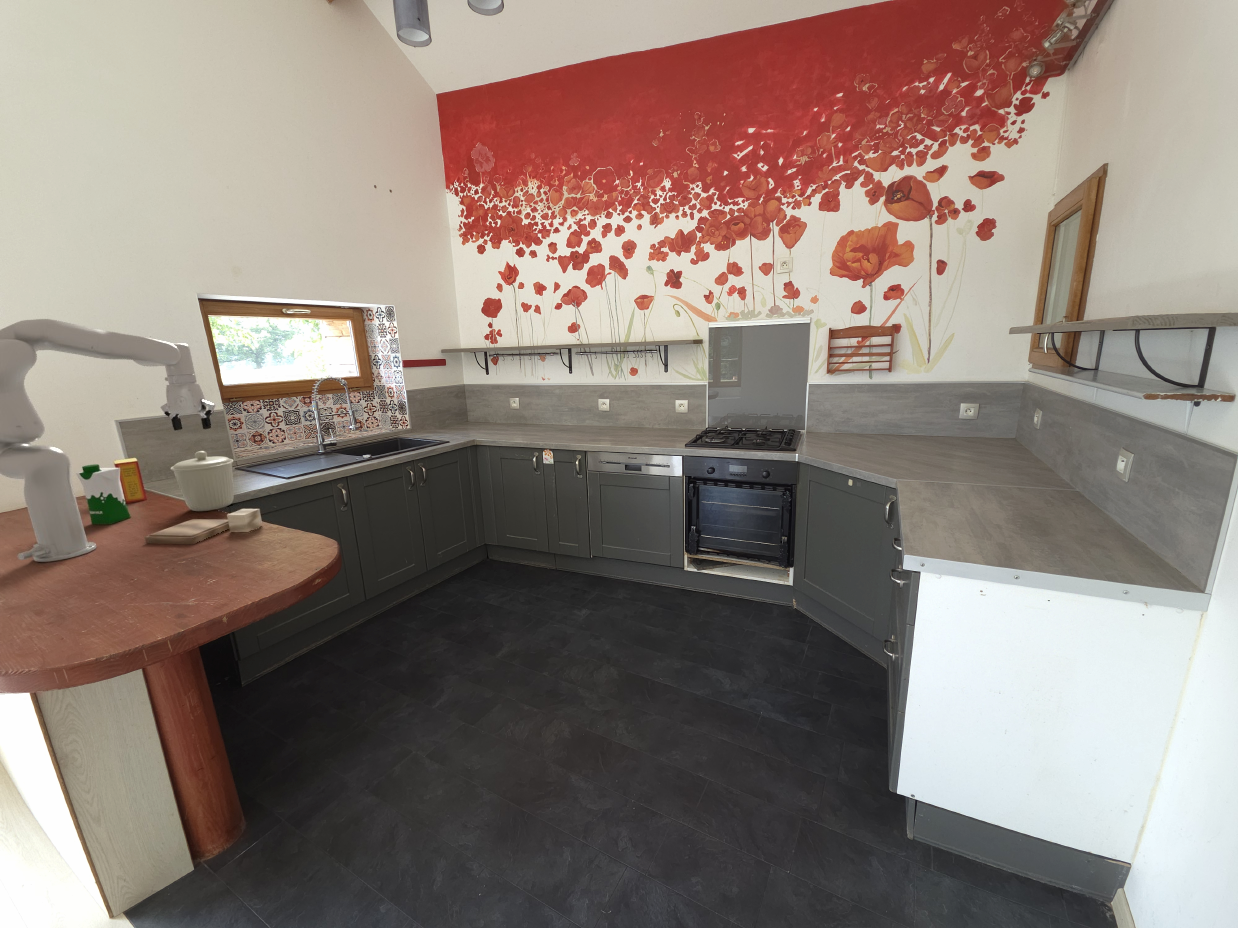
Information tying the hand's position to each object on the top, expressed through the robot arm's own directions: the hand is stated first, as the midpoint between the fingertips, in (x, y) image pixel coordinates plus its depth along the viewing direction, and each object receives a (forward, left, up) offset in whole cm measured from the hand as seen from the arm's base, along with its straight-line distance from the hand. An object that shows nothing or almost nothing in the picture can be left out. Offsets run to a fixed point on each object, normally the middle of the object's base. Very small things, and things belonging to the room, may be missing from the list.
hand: (192, 429), depth 185 cm
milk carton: (-14, +24, -30) cm, 40 cm away
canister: (+2, +1, -30) cm, 30 cm away
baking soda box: (+11, +44, -30) cm, 54 cm away
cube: (-20, -33, -29) cm, 49 cm away
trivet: (-25, -19, -29) cm, 43 cm away
